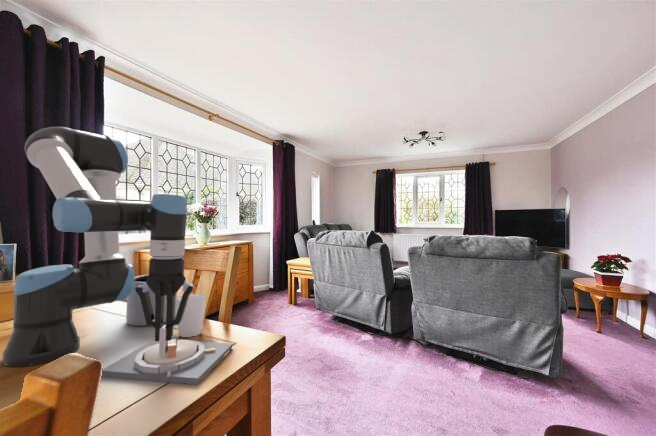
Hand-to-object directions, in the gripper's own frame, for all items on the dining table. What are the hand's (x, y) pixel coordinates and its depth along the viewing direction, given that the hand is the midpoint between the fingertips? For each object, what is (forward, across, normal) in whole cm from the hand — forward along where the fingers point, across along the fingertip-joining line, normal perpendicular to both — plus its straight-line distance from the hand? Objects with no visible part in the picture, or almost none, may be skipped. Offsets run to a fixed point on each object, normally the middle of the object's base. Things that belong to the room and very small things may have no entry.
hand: (163, 353), depth 73 cm
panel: (+5, +1, +6) cm, 8 cm away
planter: (+5, -14, +41) cm, 44 cm away
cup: (+5, +2, +25) cm, 25 cm away
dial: (+3, +1, +5) cm, 6 cm away
